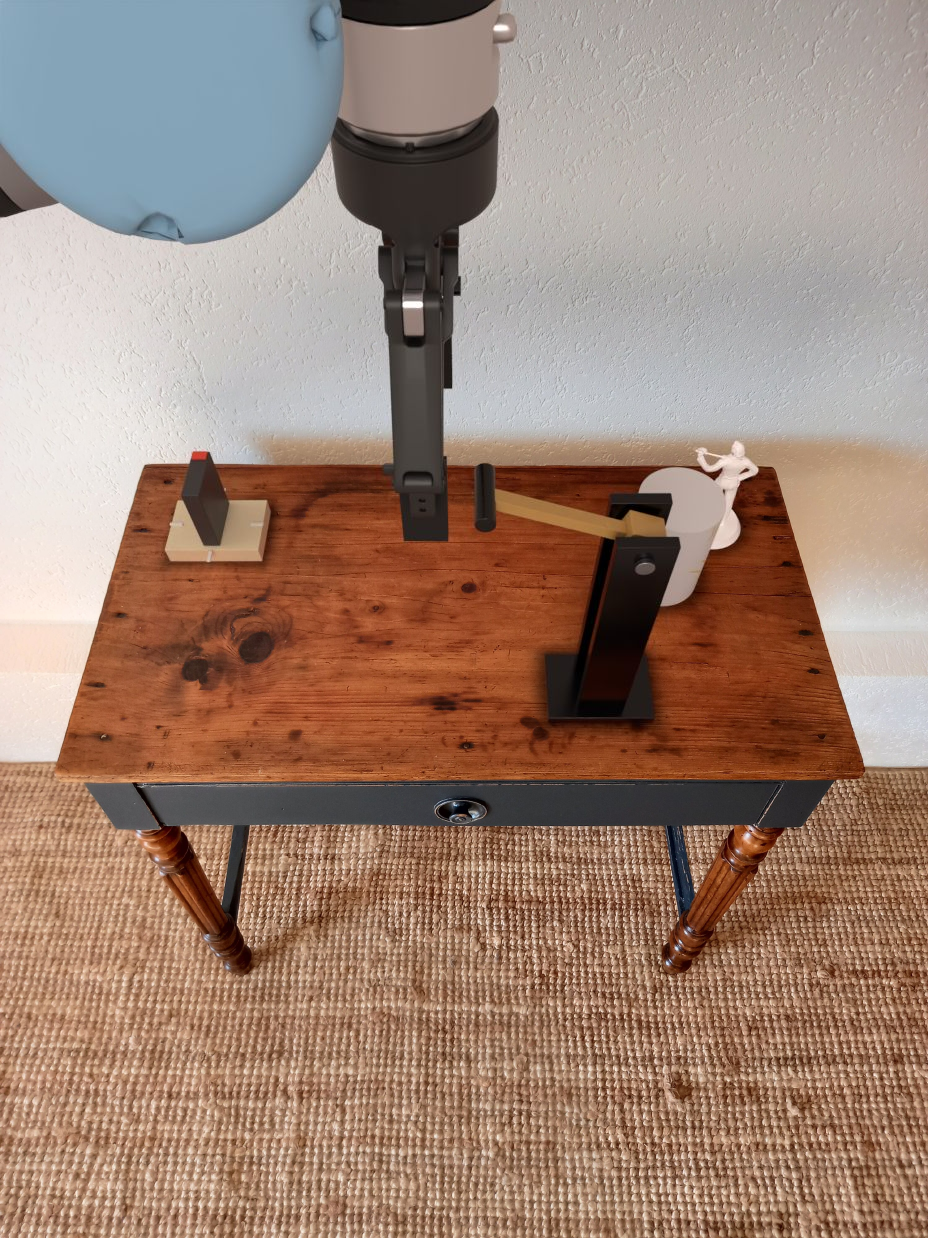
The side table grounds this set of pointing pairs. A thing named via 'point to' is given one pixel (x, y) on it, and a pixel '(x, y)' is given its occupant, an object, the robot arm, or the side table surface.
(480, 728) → the side table surface
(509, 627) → the side table surface
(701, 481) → the light grey cylinder
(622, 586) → the latch bracket
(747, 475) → the figurine
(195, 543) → the plate
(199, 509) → the thumbturn
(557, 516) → the latch lever
